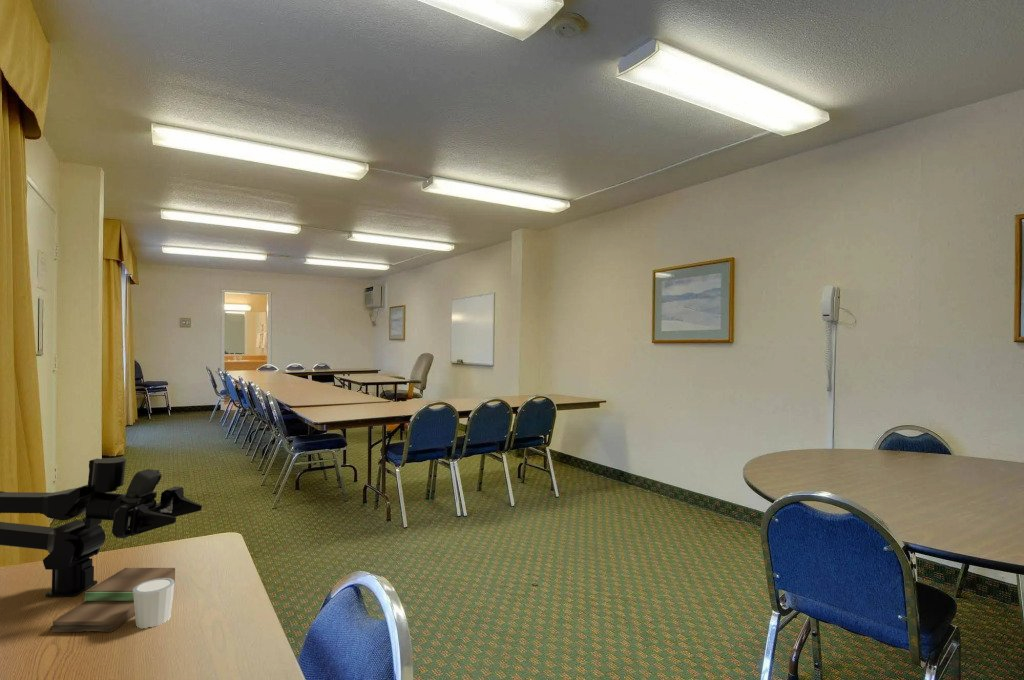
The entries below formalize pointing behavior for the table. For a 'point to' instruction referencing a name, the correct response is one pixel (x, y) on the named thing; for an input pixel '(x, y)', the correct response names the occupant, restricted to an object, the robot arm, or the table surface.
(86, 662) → the table surface
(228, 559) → the table surface
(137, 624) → the white tapered cup
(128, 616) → the stepped riser
